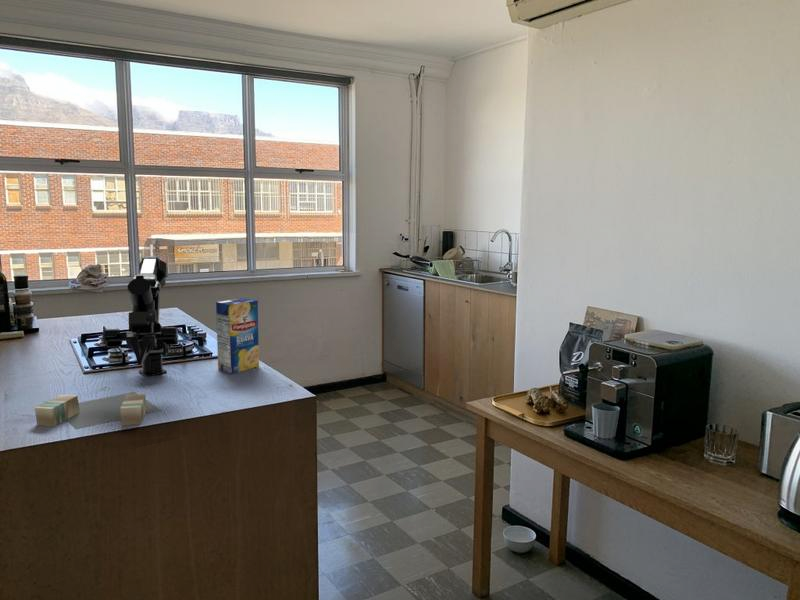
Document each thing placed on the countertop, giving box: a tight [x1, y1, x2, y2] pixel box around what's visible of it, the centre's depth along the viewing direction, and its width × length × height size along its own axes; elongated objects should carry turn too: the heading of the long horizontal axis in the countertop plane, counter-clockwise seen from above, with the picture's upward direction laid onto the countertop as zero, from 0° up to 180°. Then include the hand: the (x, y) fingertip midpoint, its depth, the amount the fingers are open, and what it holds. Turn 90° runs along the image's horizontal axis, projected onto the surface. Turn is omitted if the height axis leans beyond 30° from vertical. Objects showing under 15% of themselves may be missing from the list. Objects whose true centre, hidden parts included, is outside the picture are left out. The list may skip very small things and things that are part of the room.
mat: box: [66, 391, 162, 430], centre depth 156 cm, size 19×20×1 cm
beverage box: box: [215, 297, 260, 375], centre depth 193 cm, size 7×11×22 cm, turn 142°
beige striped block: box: [34, 394, 80, 427], centre depth 148 cm, size 5×5×9 cm
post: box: [120, 393, 147, 426], centre depth 150 cm, size 5×5×9 cm
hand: (139, 364), depth 162 cm, fingers closed
